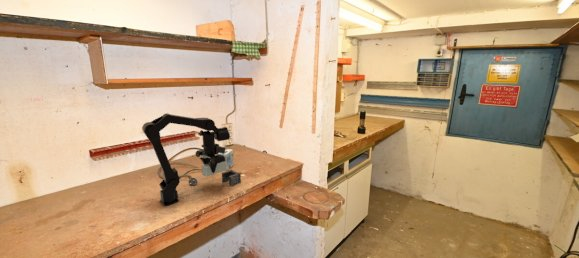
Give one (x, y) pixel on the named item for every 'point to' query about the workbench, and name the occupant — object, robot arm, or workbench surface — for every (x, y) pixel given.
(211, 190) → the workbench surface
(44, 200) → the workbench surface
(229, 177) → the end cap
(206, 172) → the grey rectangular block
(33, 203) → the workbench surface
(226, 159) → the light bulb box
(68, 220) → the workbench surface
